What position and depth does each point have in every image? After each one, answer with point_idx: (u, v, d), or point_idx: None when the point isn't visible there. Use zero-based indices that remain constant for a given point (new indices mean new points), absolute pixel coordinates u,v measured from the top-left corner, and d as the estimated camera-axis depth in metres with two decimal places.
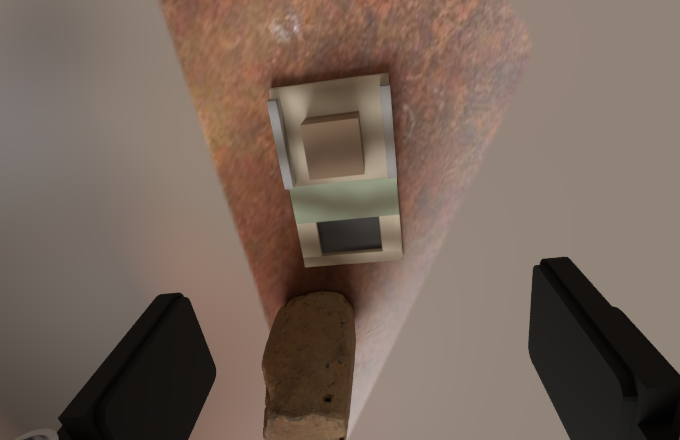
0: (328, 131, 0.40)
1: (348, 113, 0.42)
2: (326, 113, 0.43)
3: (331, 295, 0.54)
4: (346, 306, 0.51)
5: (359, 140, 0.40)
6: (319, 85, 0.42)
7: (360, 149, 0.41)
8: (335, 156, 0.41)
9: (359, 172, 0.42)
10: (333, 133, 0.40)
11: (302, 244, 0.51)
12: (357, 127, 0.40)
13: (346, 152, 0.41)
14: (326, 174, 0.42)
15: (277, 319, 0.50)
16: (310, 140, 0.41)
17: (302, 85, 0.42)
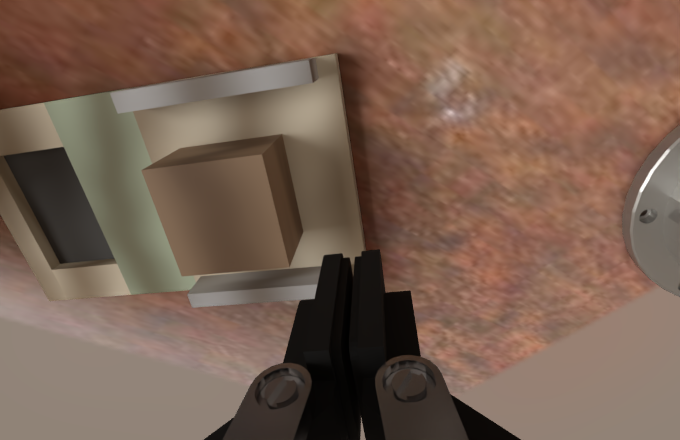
0: (256, 213, 0.19)
1: (297, 220, 0.23)
2: (293, 175, 0.22)
3: None
4: None
5: (246, 269, 0.20)
6: (345, 163, 0.22)
7: (229, 270, 0.20)
8: (205, 224, 0.19)
9: (183, 268, 0.21)
10: (253, 223, 0.19)
11: None
12: (271, 266, 0.20)
13: (219, 246, 0.20)
14: (163, 206, 0.19)
15: None
16: (231, 176, 0.18)
17: (344, 129, 0.21)
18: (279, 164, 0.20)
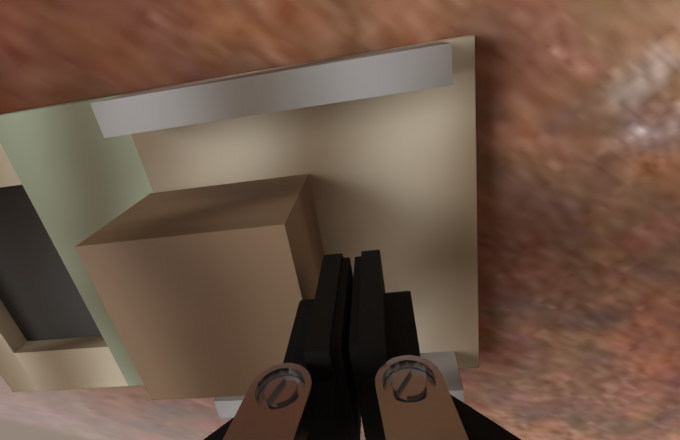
0: (271, 314, 0.11)
1: None
2: (382, 228, 0.14)
3: None
4: None
5: None
6: (467, 211, 0.14)
7: (227, 394, 0.13)
8: (188, 329, 0.12)
9: (153, 388, 0.13)
10: (266, 330, 0.12)
11: None
12: None
13: (211, 360, 0.12)
14: (116, 301, 0.12)
15: None
16: (230, 259, 0.11)
17: (472, 158, 0.13)
18: (307, 226, 0.12)
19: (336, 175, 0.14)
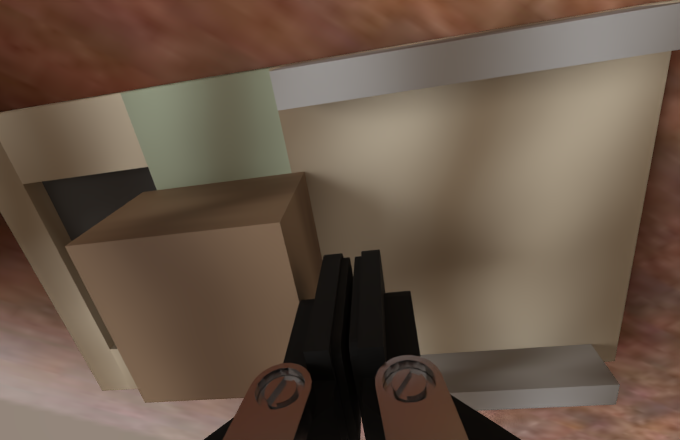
0: (267, 315, 0.11)
1: None
2: (538, 212, 0.13)
3: None
4: None
5: None
6: (635, 193, 0.13)
7: (222, 396, 0.13)
8: (182, 330, 0.12)
9: (147, 391, 0.13)
10: (261, 330, 0.11)
11: (41, 114, 0.13)
12: None
13: (205, 361, 0.12)
14: (107, 302, 0.11)
15: None
16: (224, 258, 0.10)
17: (650, 135, 0.12)
18: (303, 224, 0.12)
19: (498, 155, 0.13)
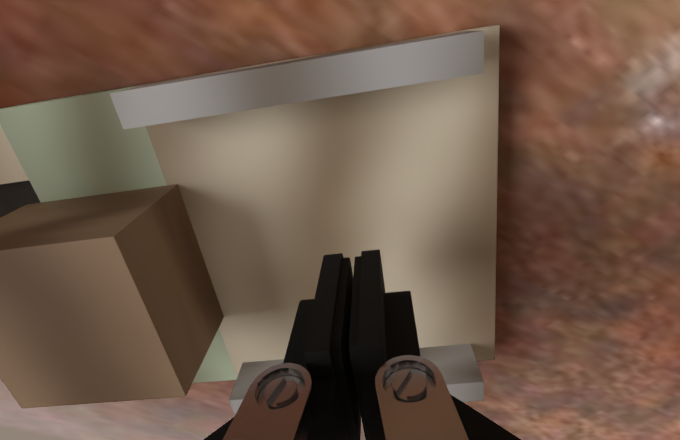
0: (120, 323, 0.12)
1: (210, 306, 0.15)
2: (402, 220, 0.14)
3: None
4: None
5: (119, 398, 0.13)
6: (487, 202, 0.14)
7: (93, 401, 0.13)
8: (43, 338, 0.12)
9: (21, 397, 0.13)
10: (117, 338, 0.12)
11: None
12: (157, 394, 0.13)
13: (71, 368, 0.13)
14: None
15: None
16: (69, 270, 0.11)
17: (494, 149, 0.13)
18: (167, 235, 0.13)
19: (356, 167, 0.13)
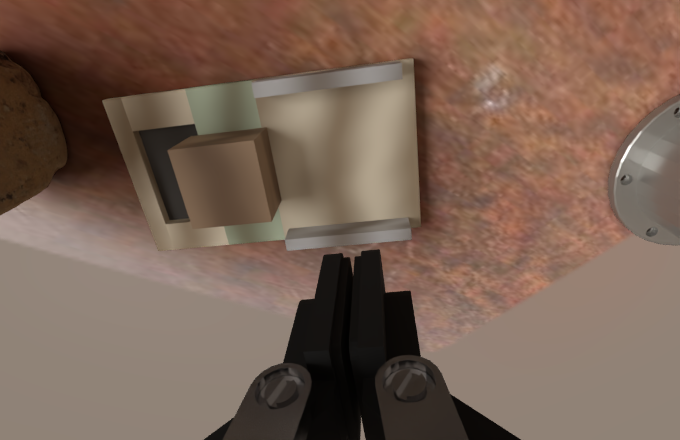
0: (248, 182, 0.27)
1: (277, 190, 0.31)
2: (372, 147, 0.30)
3: (58, 147, 0.30)
4: (46, 183, 0.29)
5: (240, 223, 0.28)
6: (412, 139, 0.29)
7: (228, 224, 0.29)
8: (212, 189, 0.27)
9: (194, 222, 0.29)
10: (246, 189, 0.27)
11: (147, 98, 0.29)
12: (258, 220, 0.28)
13: (221, 206, 0.28)
14: (181, 176, 0.27)
15: None
16: (231, 155, 0.26)
17: (414, 113, 0.29)
18: (264, 148, 0.28)
19: (352, 120, 0.29)
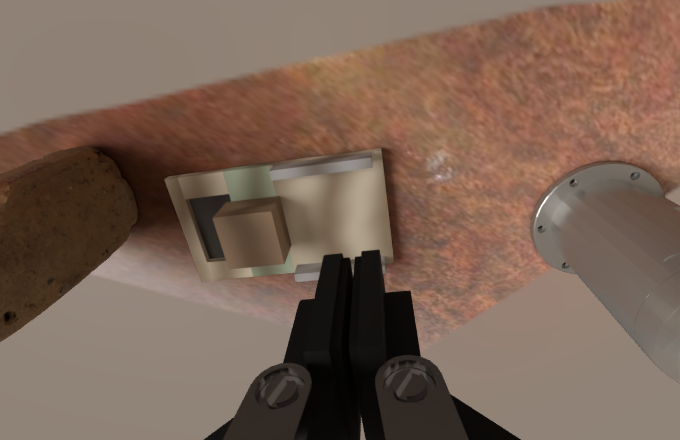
0: (268, 237, 0.39)
1: (288, 239, 0.43)
2: (356, 208, 0.41)
3: (133, 211, 0.43)
4: (126, 238, 0.42)
5: (262, 265, 0.40)
6: (384, 202, 0.41)
7: (253, 266, 0.40)
8: (242, 243, 0.39)
9: (230, 265, 0.41)
10: (266, 242, 0.39)
11: (195, 177, 0.41)
12: (275, 263, 0.40)
13: (249, 253, 0.40)
14: (221, 234, 0.39)
15: (79, 165, 0.36)
16: (256, 221, 0.38)
17: (384, 185, 0.40)
18: (278, 212, 0.40)
19: (340, 190, 0.41)
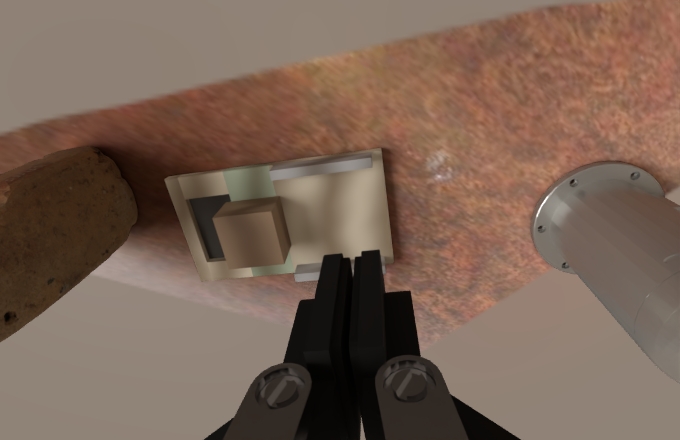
0: (268, 237, 0.39)
1: (288, 239, 0.43)
2: (356, 208, 0.41)
3: (133, 211, 0.43)
4: (126, 238, 0.42)
5: (262, 265, 0.40)
6: (384, 202, 0.41)
7: (253, 266, 0.40)
8: (242, 243, 0.39)
9: (230, 265, 0.41)
10: (266, 242, 0.39)
11: (195, 177, 0.41)
12: (275, 263, 0.40)
13: (249, 253, 0.40)
14: (221, 234, 0.39)
15: (79, 165, 0.36)
16: (256, 221, 0.38)
17: (384, 185, 0.40)
18: (278, 212, 0.40)
19: (340, 190, 0.41)
